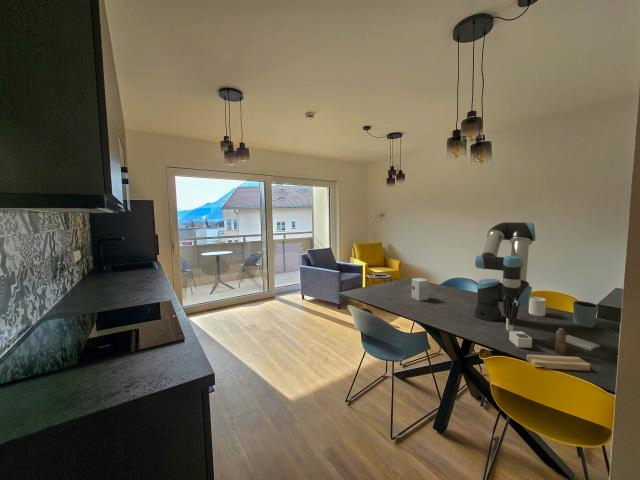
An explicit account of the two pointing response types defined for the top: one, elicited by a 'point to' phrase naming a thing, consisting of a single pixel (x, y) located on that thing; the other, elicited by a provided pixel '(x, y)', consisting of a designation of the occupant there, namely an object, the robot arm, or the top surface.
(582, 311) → the grey round pot
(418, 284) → the supplement box
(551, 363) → the batten
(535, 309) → the mug
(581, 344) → the hard drive
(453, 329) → the top surface
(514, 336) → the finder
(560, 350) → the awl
